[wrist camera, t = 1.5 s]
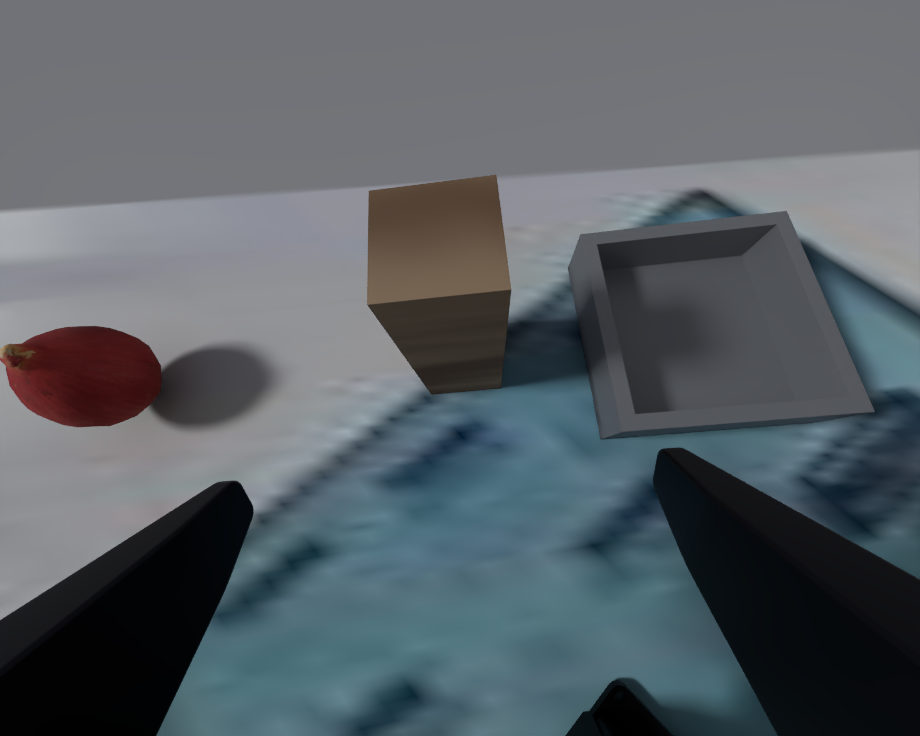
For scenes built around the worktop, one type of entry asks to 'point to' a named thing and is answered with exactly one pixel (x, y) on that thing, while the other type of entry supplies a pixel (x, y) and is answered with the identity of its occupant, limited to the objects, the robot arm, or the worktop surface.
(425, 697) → the worktop surface
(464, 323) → the handle block
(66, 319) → the worktop surface
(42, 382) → the onion
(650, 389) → the box
